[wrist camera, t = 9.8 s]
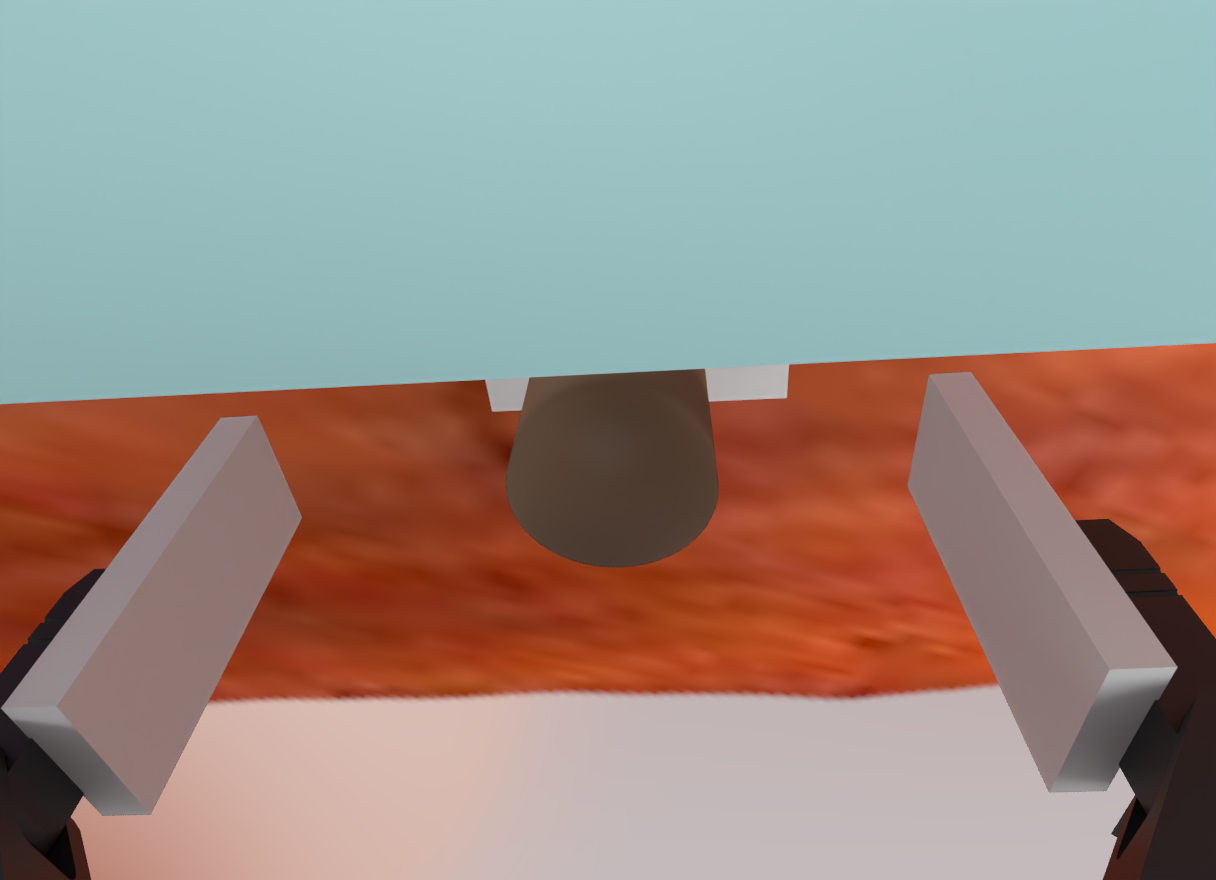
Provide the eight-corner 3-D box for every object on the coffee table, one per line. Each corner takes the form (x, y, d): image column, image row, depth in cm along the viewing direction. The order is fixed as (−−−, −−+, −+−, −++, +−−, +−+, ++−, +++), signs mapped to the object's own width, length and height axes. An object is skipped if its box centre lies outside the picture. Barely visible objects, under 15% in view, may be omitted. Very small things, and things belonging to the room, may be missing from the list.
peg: (577, 283, 27) (524, 570, 16) (561, 169, 25) (487, 410, 13) (690, 274, 27) (720, 563, 15) (685, 157, 24) (716, 397, 13)
